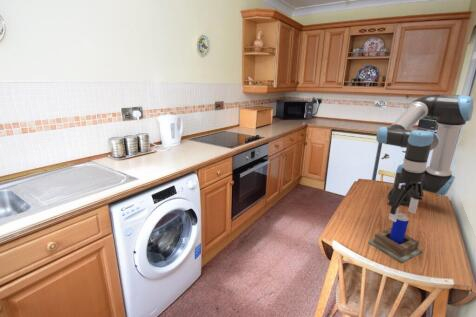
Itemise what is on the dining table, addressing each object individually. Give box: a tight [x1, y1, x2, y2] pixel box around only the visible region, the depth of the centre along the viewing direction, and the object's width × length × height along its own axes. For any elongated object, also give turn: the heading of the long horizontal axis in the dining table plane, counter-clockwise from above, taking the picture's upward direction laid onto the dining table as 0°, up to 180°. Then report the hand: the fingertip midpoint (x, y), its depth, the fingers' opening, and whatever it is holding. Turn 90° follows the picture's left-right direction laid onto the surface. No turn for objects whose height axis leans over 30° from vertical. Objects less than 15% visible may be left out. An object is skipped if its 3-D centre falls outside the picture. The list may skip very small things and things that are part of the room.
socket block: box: [368, 227, 424, 264], centre depth 110 cm, size 15×15×5 cm
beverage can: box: [389, 212, 410, 244], centre depth 108 cm, size 5×5×15 cm
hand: (402, 216), depth 106 cm, fingers open, 13 cm apart
